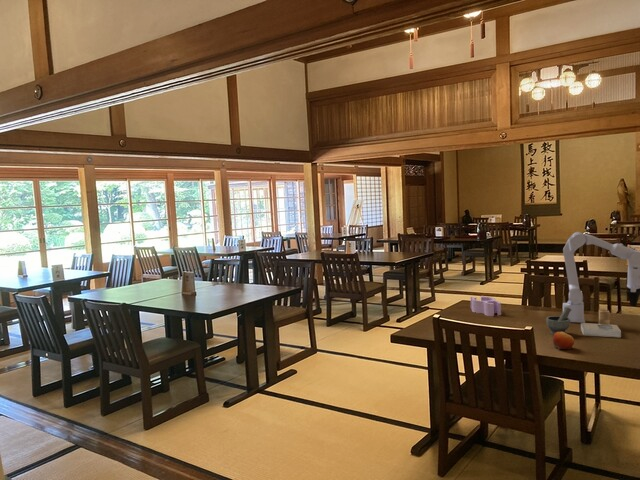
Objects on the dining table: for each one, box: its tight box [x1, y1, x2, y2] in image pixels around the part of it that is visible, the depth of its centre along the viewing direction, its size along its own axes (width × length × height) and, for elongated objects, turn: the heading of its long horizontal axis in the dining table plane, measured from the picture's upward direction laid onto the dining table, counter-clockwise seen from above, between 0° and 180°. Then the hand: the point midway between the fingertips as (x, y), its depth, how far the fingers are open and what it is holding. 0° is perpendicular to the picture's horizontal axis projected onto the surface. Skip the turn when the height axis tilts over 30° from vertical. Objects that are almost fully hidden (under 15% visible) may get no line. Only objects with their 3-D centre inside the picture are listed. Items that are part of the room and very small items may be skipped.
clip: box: [470, 295, 502, 317], centre depth 271 cm, size 20×12×7 cm, turn 13°
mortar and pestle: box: [545, 307, 571, 335], centre depth 225 cm, size 11×9×12 cm
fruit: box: [552, 332, 575, 351], centre depth 204 cm, size 8×8×8 cm
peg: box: [598, 309, 611, 324], centre depth 231 cm, size 4×4×8 cm
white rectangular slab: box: [580, 322, 622, 339], centre depth 223 cm, size 14×10×3 cm
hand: (634, 304), depth 234 cm, fingers open, 7 cm apart
